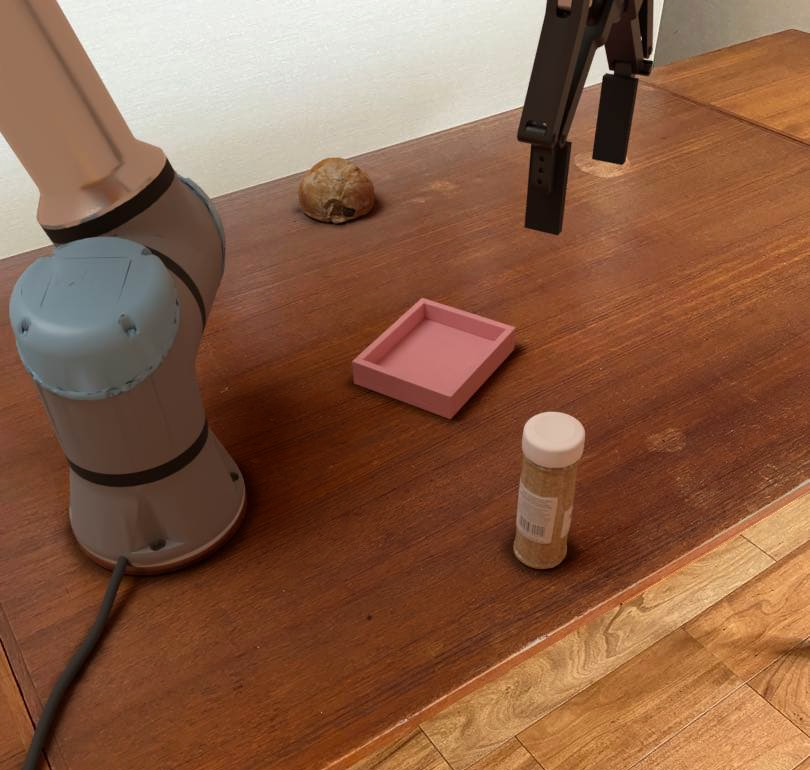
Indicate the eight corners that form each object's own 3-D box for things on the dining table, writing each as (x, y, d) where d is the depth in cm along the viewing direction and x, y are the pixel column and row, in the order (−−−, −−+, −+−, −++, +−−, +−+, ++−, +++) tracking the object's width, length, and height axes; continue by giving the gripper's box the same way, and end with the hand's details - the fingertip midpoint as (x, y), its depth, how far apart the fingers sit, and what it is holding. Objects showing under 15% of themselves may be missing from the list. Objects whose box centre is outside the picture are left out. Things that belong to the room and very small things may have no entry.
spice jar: (577, 556, 73) (599, 433, 63) (535, 579, 71) (550, 457, 61) (542, 523, 75) (558, 401, 65) (500, 546, 74) (510, 423, 64)
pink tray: (450, 419, 85) (450, 397, 83) (353, 383, 90) (351, 361, 88) (514, 349, 93) (516, 327, 91) (422, 319, 97) (421, 297, 95)
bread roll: (311, 250, 115) (314, 209, 108) (285, 189, 118) (286, 145, 111) (380, 233, 118) (387, 192, 110) (353, 174, 121) (358, 130, 113)
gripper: (603, -98, 45) (559, 276, 60) (736, -172, 59) (673, 143, 75) (473, -110, 47) (463, 251, 63) (630, -178, 62) (591, 128, 77)
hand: (577, 193), depth 69 cm, fingers open, 13 cm apart
